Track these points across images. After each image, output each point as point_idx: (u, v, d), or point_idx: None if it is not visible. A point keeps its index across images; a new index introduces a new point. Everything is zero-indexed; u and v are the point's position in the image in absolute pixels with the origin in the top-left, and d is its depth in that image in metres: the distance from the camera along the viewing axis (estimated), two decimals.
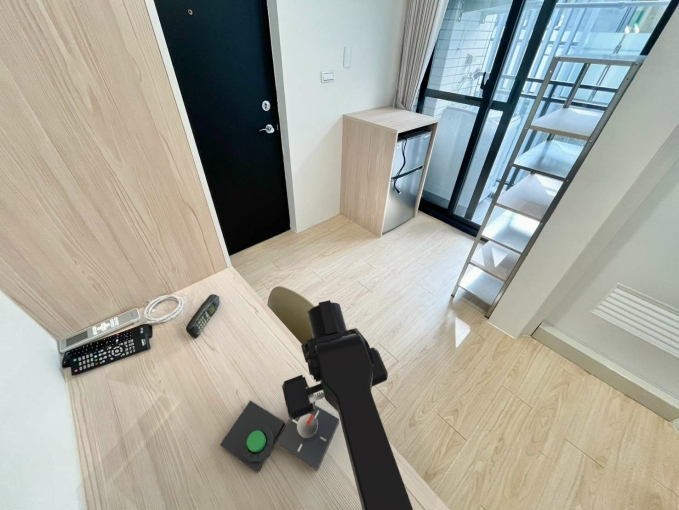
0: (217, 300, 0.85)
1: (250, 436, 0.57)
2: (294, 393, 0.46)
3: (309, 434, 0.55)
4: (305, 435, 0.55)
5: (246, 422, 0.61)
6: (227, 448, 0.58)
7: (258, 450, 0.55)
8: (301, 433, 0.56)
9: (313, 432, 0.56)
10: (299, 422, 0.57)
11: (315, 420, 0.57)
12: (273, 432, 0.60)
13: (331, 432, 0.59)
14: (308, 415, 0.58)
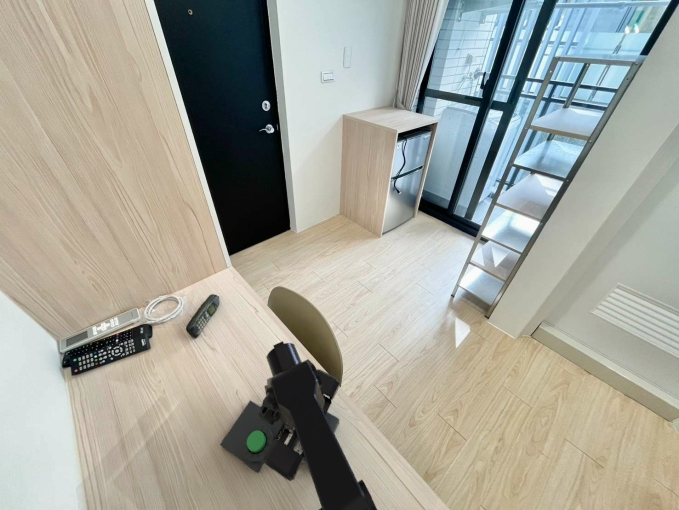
0: (217, 300, 0.85)
1: (250, 436, 0.57)
2: (279, 457, 0.47)
3: None
4: None
5: (246, 422, 0.61)
6: (227, 448, 0.58)
7: (258, 450, 0.55)
8: None
9: None
10: None
11: None
12: (273, 432, 0.60)
13: None
14: None
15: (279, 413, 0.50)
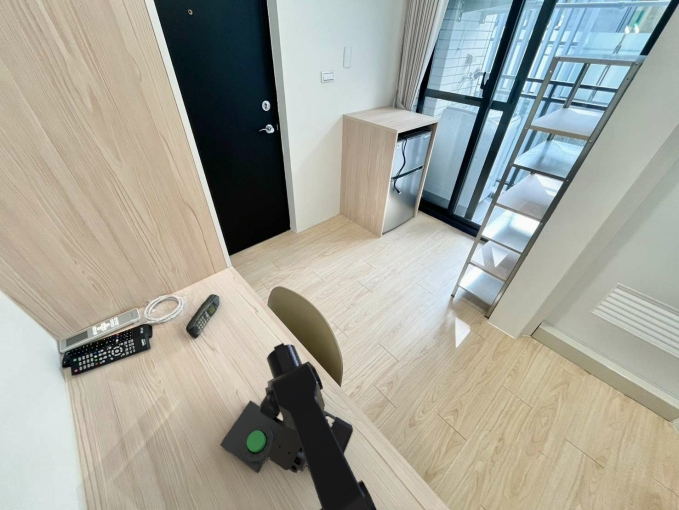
0: (217, 300, 0.85)
1: (250, 436, 0.57)
2: (337, 440, 0.50)
3: None
4: None
5: (246, 422, 0.61)
6: (227, 448, 0.58)
7: (258, 450, 0.55)
8: None
9: None
10: None
11: None
12: (273, 432, 0.60)
13: None
14: None
15: None
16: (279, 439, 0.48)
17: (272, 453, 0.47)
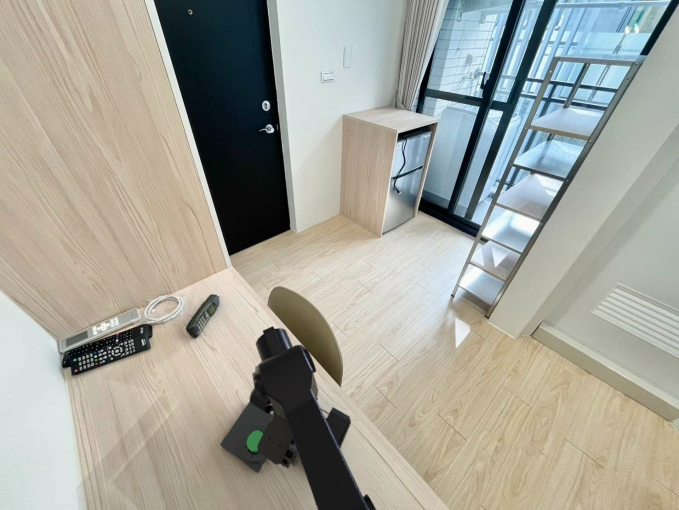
0: (217, 300, 0.85)
1: (250, 436, 0.57)
2: (334, 432, 0.45)
3: None
4: None
5: (246, 422, 0.61)
6: (227, 448, 0.58)
7: None
8: None
9: None
10: None
11: None
12: None
13: None
14: None
15: None
16: (269, 430, 0.44)
17: (261, 446, 0.43)
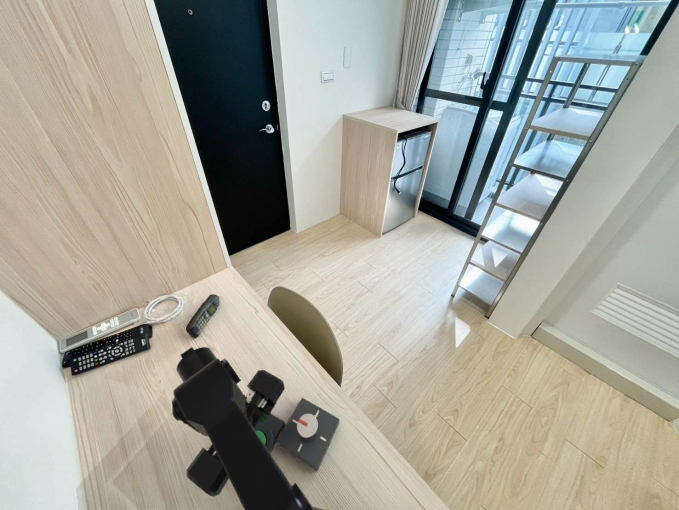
0: (217, 300, 0.85)
1: None
2: (202, 469, 0.42)
3: (315, 422, 0.57)
4: (316, 426, 0.56)
5: None
6: None
7: None
8: (314, 431, 0.56)
9: (314, 417, 0.58)
10: (304, 434, 0.55)
11: (303, 416, 0.58)
12: (273, 432, 0.60)
13: (331, 432, 0.59)
14: (298, 424, 0.57)
15: None
16: None
17: None
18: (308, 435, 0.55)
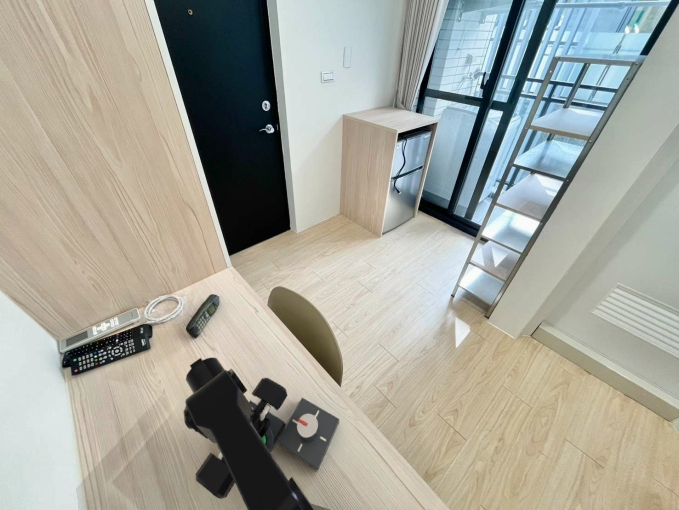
0: (217, 300, 0.85)
1: None
2: (210, 473, 0.44)
3: (315, 422, 0.57)
4: (316, 426, 0.56)
5: None
6: None
7: None
8: (314, 431, 0.56)
9: (314, 417, 0.58)
10: (304, 434, 0.55)
11: (303, 416, 0.58)
12: (273, 432, 0.60)
13: (331, 432, 0.59)
14: (298, 424, 0.57)
15: None
16: None
17: None
18: (308, 435, 0.55)
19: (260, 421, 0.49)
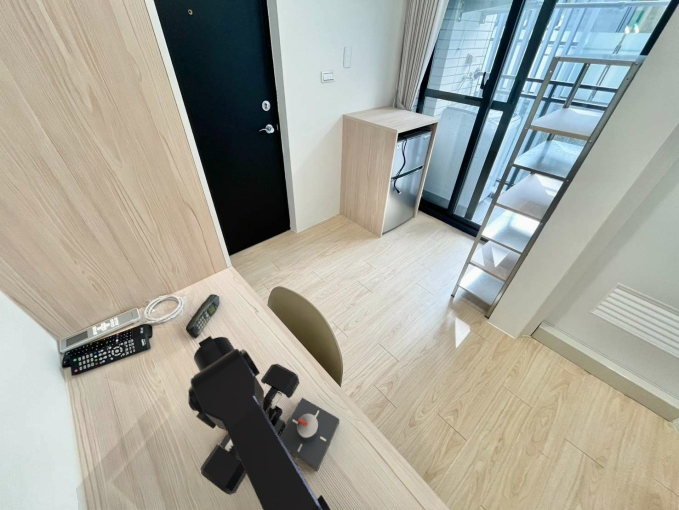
0: (217, 300, 0.85)
1: None
2: (218, 466, 0.40)
3: (315, 422, 0.57)
4: (316, 426, 0.56)
5: None
6: None
7: None
8: (314, 431, 0.56)
9: (314, 417, 0.58)
10: (304, 434, 0.55)
11: (303, 416, 0.58)
12: None
13: (331, 432, 0.59)
14: (298, 424, 0.57)
15: None
16: None
17: None
18: (308, 435, 0.55)
19: (271, 409, 0.45)
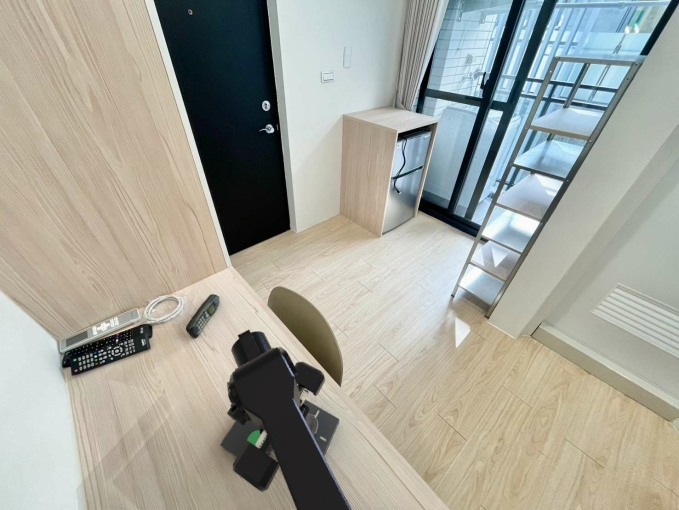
0: (217, 300, 0.85)
1: (250, 436, 0.57)
2: (250, 463, 0.40)
3: (315, 422, 0.57)
4: (316, 426, 0.56)
5: (246, 422, 0.61)
6: (227, 448, 0.58)
7: None
8: (314, 431, 0.56)
9: (314, 417, 0.58)
10: None
11: None
12: None
13: (331, 432, 0.59)
14: None
15: None
16: None
17: None
18: None
19: (300, 407, 0.45)
